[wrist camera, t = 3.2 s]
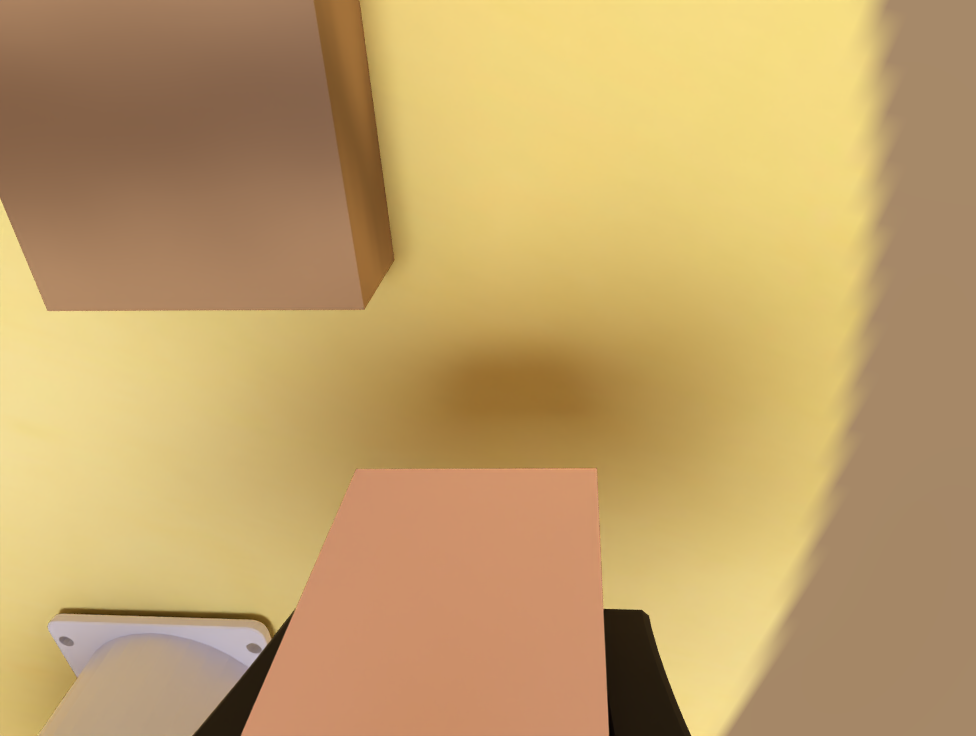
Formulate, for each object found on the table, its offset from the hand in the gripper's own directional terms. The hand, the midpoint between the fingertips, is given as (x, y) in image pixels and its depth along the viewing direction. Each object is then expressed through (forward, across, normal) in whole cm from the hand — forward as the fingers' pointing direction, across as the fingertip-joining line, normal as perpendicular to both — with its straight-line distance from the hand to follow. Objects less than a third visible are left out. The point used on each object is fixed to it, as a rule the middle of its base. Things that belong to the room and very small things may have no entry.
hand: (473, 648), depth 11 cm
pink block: (+2, 0, 0) cm, 2 cm away
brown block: (+8, +6, -7) cm, 12 cm away
